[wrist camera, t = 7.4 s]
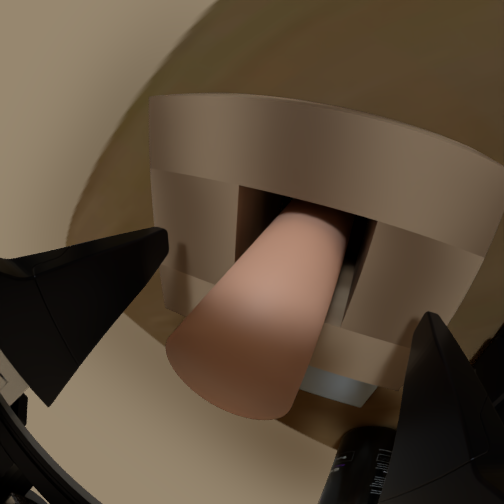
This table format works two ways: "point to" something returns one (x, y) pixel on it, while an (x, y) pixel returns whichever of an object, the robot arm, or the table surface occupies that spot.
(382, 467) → the supplement bottle
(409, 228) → the socket block
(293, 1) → the table surface
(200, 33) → the table surface
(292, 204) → the dowel
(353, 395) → the mat
